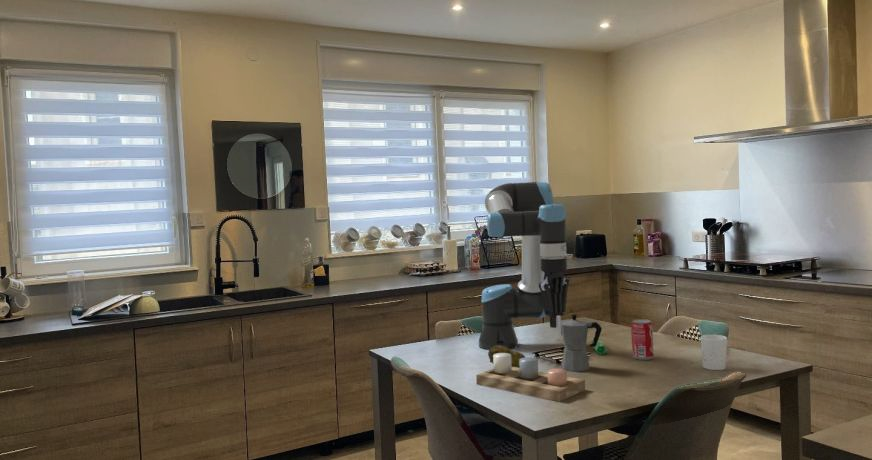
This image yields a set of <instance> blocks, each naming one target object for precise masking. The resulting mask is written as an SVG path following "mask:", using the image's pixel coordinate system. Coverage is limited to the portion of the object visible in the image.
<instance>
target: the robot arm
mask: <svg viewBox="0 0 872 460" xmlns="http://www.w3.org/2000/svg"><path fill="white" fill-rule="evenodd" d="M484 206H485V209H486V211H487V217H486V224H487V225H486V226H487V227H486V228H487V235H488V236H489V237H491V238H505V237H521V280H519V282H518V283H517V287H514V288H513V287H512V284H509V283H508V284H504V283H503V284H496V285H491V286H489V287H488V286H487V287H486V288H484V289H483V290H482V291H481V303H482V304H481V305H482V306H481V309H482V311H481V312H482V318H481V319H482V328H481V331H480V335H479V339H478V346H479V348H481V349H484V350H488V351H489V350H490V348H492V347H494V346H505V347H507V348H508V349H510V350H512V349H514V348H517V347H519V340H518V337H517V334H516V331H515V328H514V322H513V321H514V319H541V318H547V317H549V327H550V328H549V329H550V332H549V333H550V335H549V336H550V339H556V340H560V339H562V334H561V322H562V319H561V318H562V317H563V316H565V312H566V308H567V298H568V287H569V284H570V279H569V278H565V274H564V272H566V271H567V270H568V263H567V261H568V259H567V258H566V256H567V233H566V231H567V229H566V228H567V226H566V225H567V224H566V223H567V222H566V221H567V220H566V218H567V215H566V207H565V205H564V204H560V203H559V204H555V201H554V197H553V192H552V188H551V185H550V183H549V182H545V181H541V182H540V181H539V182H538V181H534V182H533V181H532V182H531V181H530V182H514V183H513V182H507V183H504V184H501V185H498V186H496V187H494V188H493V189H491V190H490V191H489V192H488V193H487V195H486V196H485V200H484ZM561 316H562V317H561Z"/></svg>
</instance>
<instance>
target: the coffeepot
mask: <svg viewBox="0 0 872 460" xmlns="http://www.w3.org/2000/svg"><path fill="white" fill-rule="evenodd" d="M593 328H594V329H596V330H595V333H594V337H593V339H592V341H593V344H592V343H589V347H591V348H594V347H596V345H597V342H598V339H599V340H600V336H601V333H602V329H603V328H602V326H600V324H599V323H598V322H597V321H594V322H593V321H583V320H579V319H577V314H576V313H575V314H571V319H570V320H566V321H561V338H562V342H563V343H564V349H563V354H562V362H561V369H564V370H566V371H568V372H576V373H577V372H584V371H588V370H589V369H590V368H591V367H590V363H589V356H588V352H587V349H586V344H587V342H588V341H587V340H588V332H589V329H593Z"/></svg>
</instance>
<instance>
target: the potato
mask: <svg viewBox="0 0 872 460" xmlns="http://www.w3.org/2000/svg"><path fill="white" fill-rule="evenodd" d="M497 353H508V354H511V364H512V367H517V368H520V365H519V359H521V358H525V357H526V356H525V355H524V353H521V352H519V351H515V350H512V349H508V348H507V347H505V346H494V347H492V348H490V350H488V353H487V356H488V359H489V363H492V364H493V365H494V363H493V355H494V354H497Z"/></svg>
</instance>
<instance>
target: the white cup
mask: <svg viewBox="0 0 872 460" xmlns="http://www.w3.org/2000/svg"><path fill="white" fill-rule="evenodd" d="M727 348H728V337H727V336H725V335H721V334H703V335H701V336H700V349H701V350H700V351H701V359H702V367H703V368H704V369H706V370H710V371H722V370H726V367H727V364H726V362H727V361H726V360H727Z"/></svg>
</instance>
